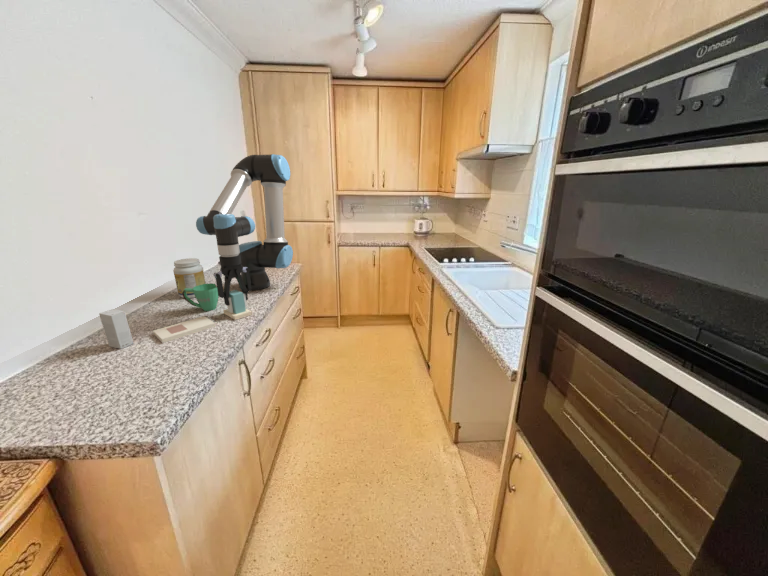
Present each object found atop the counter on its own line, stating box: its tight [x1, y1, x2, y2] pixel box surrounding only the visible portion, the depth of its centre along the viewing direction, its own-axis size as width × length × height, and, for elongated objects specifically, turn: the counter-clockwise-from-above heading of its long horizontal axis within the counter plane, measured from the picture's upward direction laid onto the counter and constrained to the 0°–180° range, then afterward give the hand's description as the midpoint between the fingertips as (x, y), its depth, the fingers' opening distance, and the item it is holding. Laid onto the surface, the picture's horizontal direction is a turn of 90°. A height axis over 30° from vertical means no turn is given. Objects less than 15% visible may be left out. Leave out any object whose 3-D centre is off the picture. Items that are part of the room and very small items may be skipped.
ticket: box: [152, 315, 218, 344], centre depth 116 cm, size 18×10×2 cm, turn 139°
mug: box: [182, 283, 219, 312], centre depth 134 cm, size 15×10×10 cm
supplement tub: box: [172, 257, 207, 299], centre depth 150 cm, size 12×12×17 cm
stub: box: [223, 289, 253, 321], centre depth 129 cm, size 7×10×10 cm
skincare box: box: [98, 308, 134, 350], centre depth 104 cm, size 6×4×12 cm
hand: (237, 309), depth 130 cm, fingers open, 5 cm apart
